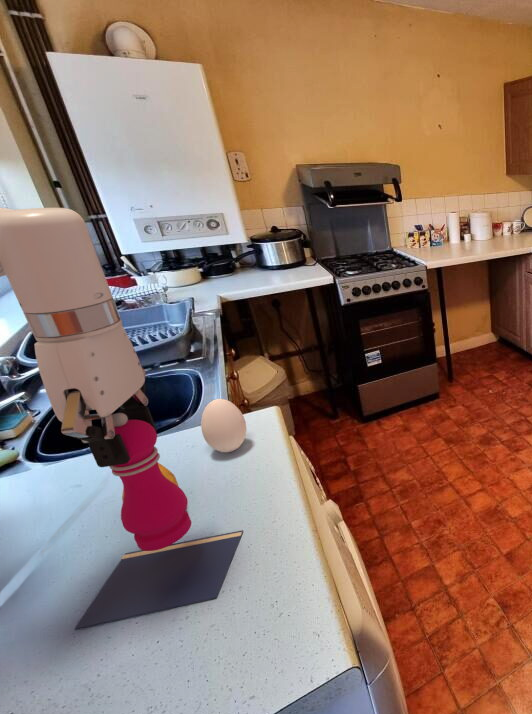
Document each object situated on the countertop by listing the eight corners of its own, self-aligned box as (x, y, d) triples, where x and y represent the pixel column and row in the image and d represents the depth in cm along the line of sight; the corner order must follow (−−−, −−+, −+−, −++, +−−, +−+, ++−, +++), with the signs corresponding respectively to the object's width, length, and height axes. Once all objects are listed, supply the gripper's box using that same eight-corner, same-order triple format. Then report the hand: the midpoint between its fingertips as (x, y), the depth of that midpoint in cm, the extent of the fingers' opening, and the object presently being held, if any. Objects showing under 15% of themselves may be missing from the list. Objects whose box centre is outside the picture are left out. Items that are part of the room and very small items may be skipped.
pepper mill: (205, 527, 64) (161, 408, 56) (146, 563, 58) (89, 436, 51) (182, 508, 67) (138, 394, 60) (124, 540, 62) (68, 419, 54)
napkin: (74, 630, 55) (73, 628, 55) (126, 554, 66) (125, 552, 66) (216, 598, 59) (216, 596, 59) (243, 531, 70) (242, 529, 69)
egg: (207, 465, 85) (189, 413, 81) (213, 444, 92) (197, 396, 87) (250, 454, 88) (235, 404, 84) (253, 435, 95) (239, 387, 90)
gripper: (84, 301, 58) (131, 418, 64) (-28, 351, 42) (49, 499, 49) (150, 296, 59) (189, 410, 66) (65, 341, 44) (127, 486, 50)
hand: (129, 447), depth 57 cm, fingers closed on pepper mill, 6 cm apart
